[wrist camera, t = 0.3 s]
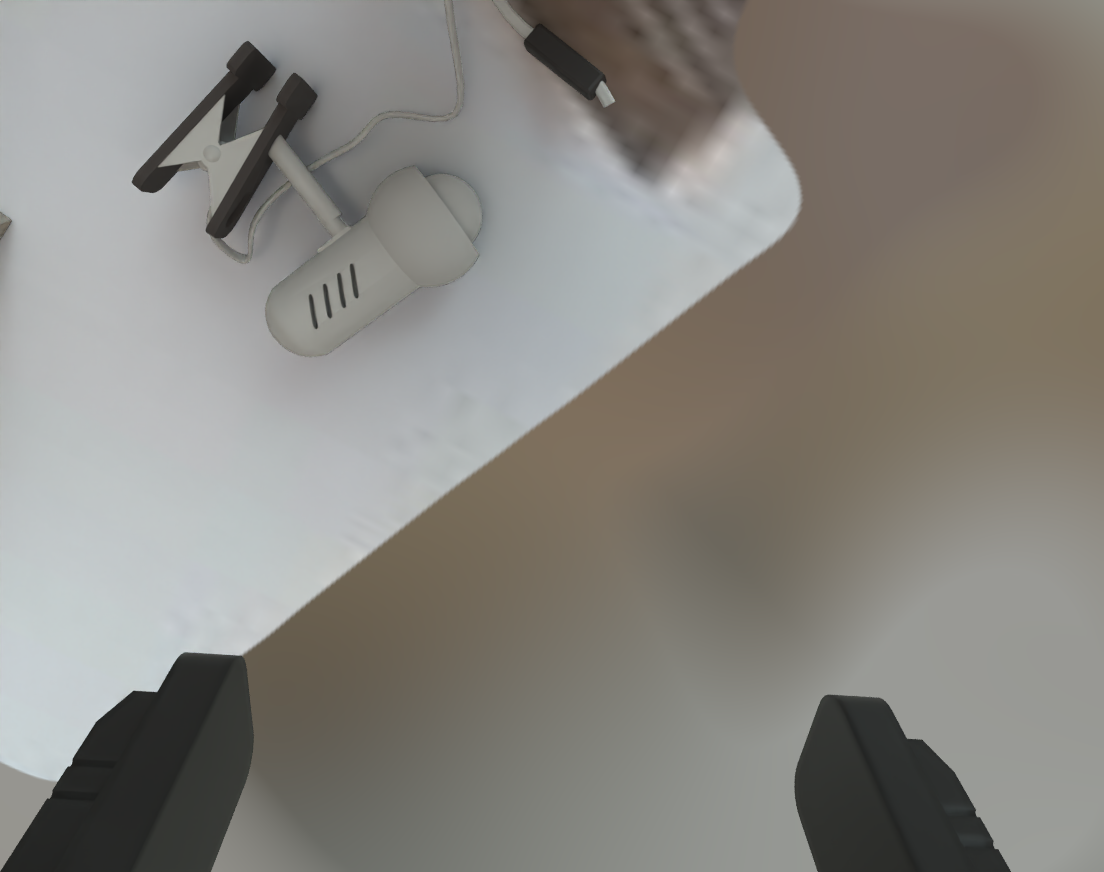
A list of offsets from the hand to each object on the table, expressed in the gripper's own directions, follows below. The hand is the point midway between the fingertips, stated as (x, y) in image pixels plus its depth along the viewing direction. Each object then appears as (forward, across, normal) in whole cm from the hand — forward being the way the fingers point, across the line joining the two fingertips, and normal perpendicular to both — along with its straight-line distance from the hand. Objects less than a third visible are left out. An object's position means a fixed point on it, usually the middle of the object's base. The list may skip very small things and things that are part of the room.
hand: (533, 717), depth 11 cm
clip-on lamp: (+29, +6, -4) cm, 30 cm away
